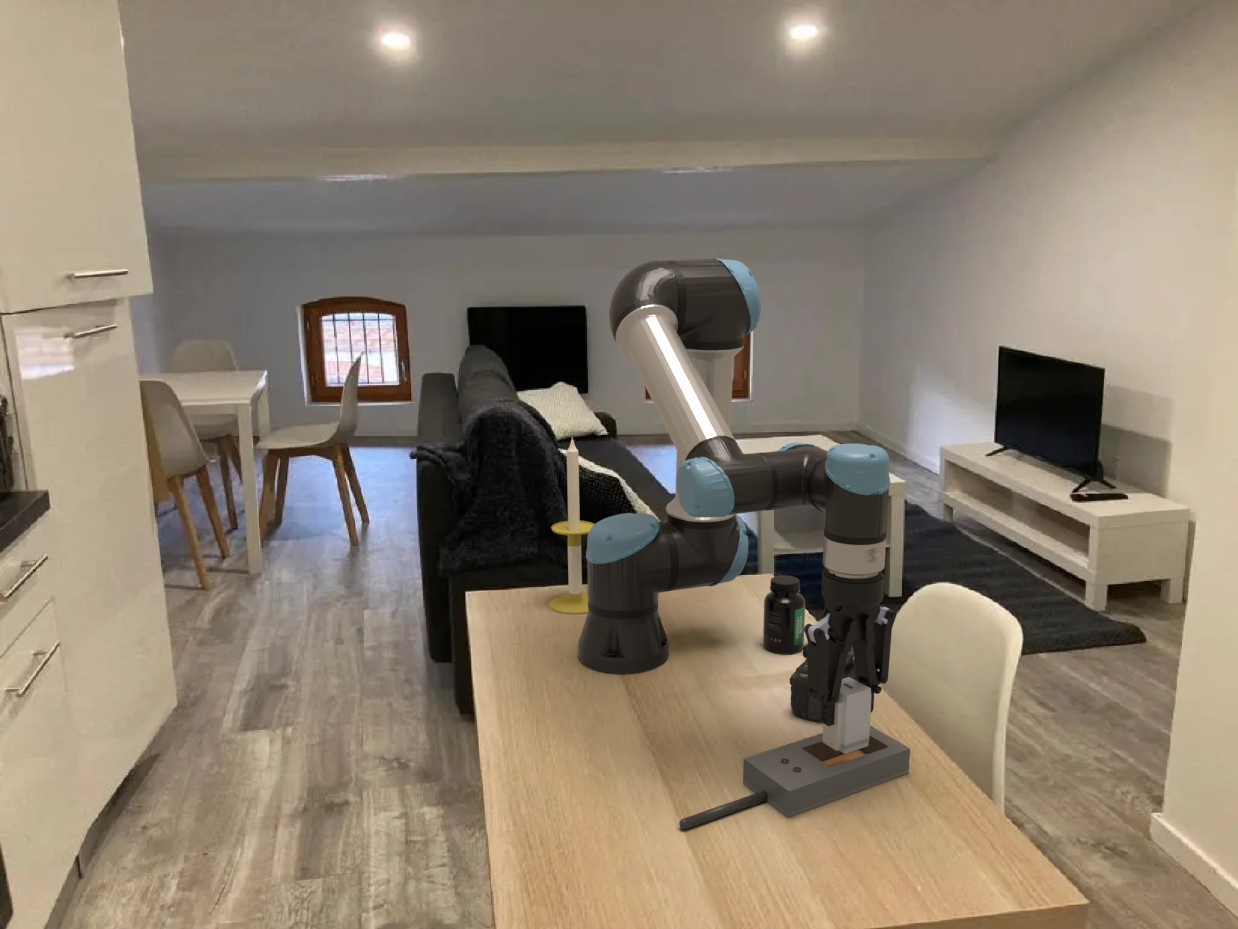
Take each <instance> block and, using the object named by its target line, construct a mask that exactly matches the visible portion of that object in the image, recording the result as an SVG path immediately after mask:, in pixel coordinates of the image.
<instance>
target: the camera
mask: <svg viewBox="0 0 1238 929" xmlns="http://www.w3.org/2000/svg"><path fill="white" fill-rule="evenodd" d="M802 656H803V658H804V659H805V660H804V661H803V662H802V663H801V664H800V665H799V666H797V667H796V668H795V671H794V672H793V673H792V674H791V675H790V678H789V684H790V707H791V710H792V712H793V714H794V715H795V716H797V717H799V718H801V719H805V720H808V721H811V722H816V723H822V722H821V720H820V706H821V702H820V701H819V700H817V699H815V698H813V697H812V696H810V695H808V642H807V643H806V644H805V645H804V646H803V648H802ZM847 677H850V678H852V679H854V680H856V681H857V674H856V667H855V659H854V651H853V645H852V649H851V651H850V652H848V654H847V659H846V664H845V668H844V673H843V678H842V679H844V678H847Z"/></svg>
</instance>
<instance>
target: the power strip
mask: <svg viewBox="0 0 1238 929" xmlns="http://www.w3.org/2000/svg"><path fill="white" fill-rule="evenodd" d="M822 740H823V732H821V733H818V734H815V735H812V736H811V735H810V736H809V737H806V738H802V739H799V740H796V741H793V742H789V743H787V744H784V745H781V746H778V747H775V748H772V749H769V750H766V751H762V752H759V753H757V754H756V753H755V754H753V755H751V756H748V757H747V756H746V757H744V758H743V765H742V768H743V774H742V783H743V785H745V786H746V787H747V788H748V789H750V790H751V791H752V792H754V793H753V794H750V795H747V796H744V797H742V798H738V799H736V800H733V801H732V800H731V801H730V802H727V803H724V804H721V805H718V806H716V807H712V808H710V809H707V810H704V811H701V812H697V813H696V814H692V815H689V816H686V817H684V818H683V817H682V818H681V819H680V820H679V823H678V826H679V827H680V829H682V830H687V829H691V828H693V827H695V826H698V825H701V824H704V823H707V822H709V821H710V822H711V821H712V820H715V819H716V820H717V819H718V818H721V817H724V816H727V815H729V814H733V813H735V812H738V811H741V810H743V809H747V808H749V807H752V806H754V805H758V804H761V803H763V802H767V803H768V804H770V805H771V806H772V807H774V808H775V809H776V810H777V811H779V812H781V813H782V814H783V815H784V816H785V817H787V818H790V817H793V816H795V815H799V814H801V813H804V812H806V811H810V810H812V809H814V808H818V807H821V806H823V805H825V804H828V803H831V802H835V801H836V800H840V799H842V798H845V797H849V796H850V795H852V794H856V793H857V792H861V791H864V790H866V789H870V788H872V787H874V786H877V785H880V784H883V783H886V782H888V781H891V780H893V779H896V778H899V777H902V776H905V775H908V774H909V772H910V757H911V748H910V747H909V746H907V745H905V744H904V743H902V742H900V741H898V740H896V739H894V738H893V737H891V736H889V735H887V734H886V733H884V732H882V731H881V730H880V729H877V728H876V727H874V726H872V725H870V735H869V743H868V746H867V747H864V748H861V749H858V750H855V751H852V752H849V753H846V754H844V753H842V752H841V751H839V750H838V751H836V750H834V749H833V748H831V747H830V746H828V745H826V744H825V743H823V742H822Z"/></svg>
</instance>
